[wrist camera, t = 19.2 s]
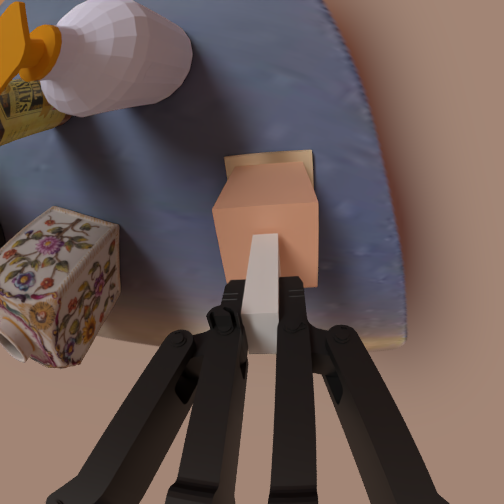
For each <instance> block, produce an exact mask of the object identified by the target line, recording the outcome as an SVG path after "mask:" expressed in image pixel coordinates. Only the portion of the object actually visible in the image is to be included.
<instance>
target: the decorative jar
mask: <svg viewBox="0 0 504 504" xmlns="http://www.w3.org/2000/svg"><path fill="white" fill-rule="evenodd" d="M119 268H120V260H119V225H118V224H114V223H111V222H107V221H104V220H101V219H97V218H94V217H91V216H87V215H84V214H81V213H78V212H75V211H71V210H68V209H64V208H60V207H57V206H52V207H51V208H50V209H48V210H47V211H45V212H44V213H43V214H41V215H40V216H38V217H37V218H36V219H34V220H33V221H32V222H31V223H29V224H28V225H27V226H25V227H24V228H23V229H21V231H19V232H18V233H17V234H16V235H15V236H14V237H13V238H12V239H10V240H9V241H8V242H7V243H6V244H5V245H4V246H3V247H2V248H1V249H0V344H1V345H2V346H3V347H4V349H5V350H6V351H7V352H8V353H9V354H10V355H11V356H12V357H14V358H15V359H16V360H18V361H20V362H23V363H25V362H26V361H27V359H28V358H29V357H30V358H31V359H33V360H34V361H36V362H38V363H39V364H41V365H43V366H45V367H48V368H67V367H69V366H75V365H79V364H81V362H82V360H83V358H84V356H85V355H86V353H87V351H88V349H89V348H90V346H91V344H92V342H93V341H94V339H95V337H96V335H97V333H98V332H99V330H100V328H101V326H102V325H103V323H104V322H105V320H106V318H107V317H108V315H109V313H110V312H111V310H112V308H113V306H114V304H115V303H116V301H117V299H118V297H119V295H120V293H121V284H120V269H119Z"/></svg>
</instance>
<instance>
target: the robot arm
mask: <svg viewBox="0 0 504 504" xmlns="http://www.w3.org/2000/svg"><path fill="white" fill-rule="evenodd" d="M4 245H5V239H4V235H3V231H2V228H1V226H0V249H1V248H2V247H3V246H4ZM206 317H207V320H208V323H209V326H210V330H208V331H207V332H204V333H200V334H196V335H192V334H191V333H190V332H189V331H186V330H177V331H174V332H172V333H170V334H169V335H168V336H167V337H166V339H165V340H164V342H163V343H162V344H161V346H160V347H159V349H158V351H157V352H156V353H155V355H154V356H153V358H152V359H151V361H150V363H149V364H148V365H147V367H146V369H145V370H144V372H143V373H142V374H141V376H140V377H139V379H138V381H137V382H136V384H135V385H134V387H133V388H132V390H131V391H130V393H129V394H128V396H127V398H126V399H125V400H124V402H123V404H122V405H121V407H120V408H119V410H118V411H117V413H116V414H115V416H114V418H113V419H112V421H111V422H110V424H109V425H108V427H107V429H106V430H105V432H104V433H103V435H102V436H101V438H100V440H99V441H98V443H97V444H96V446H95V448H94V449H93V451H92V453H91V454H90V456H89V457H88V459H87V461H86V462H85V464H84V466H83V467H82V469H81V470H80V472H79V474H78V475H77V476H76V477H75V478H73V479H72V480H71V481H69V482H68V483H66V484H65V485H64V486H62V487H61V488H59V489H58V490H56V491H55V492H54V493H52V494H51V495H50V496H49V497H48V498H47V501H46V504H139V503H140V501H141V499H142V498H143V496H144V494H145V493H146V491H147V489H148V487H149V485H150V484H151V482H152V480H153V478H154V476H155V474H156V472H157V471H158V469H159V467H160V465H161V463H162V461H163V459H164V457H165V455H166V454H167V452H168V450H169V448H170V446H171V444H172V442H173V440H174V439H175V436H176V435H177V433H178V431H179V429H180V427H181V425H182V423H183V421H184V419H185V418H186V416H187V414H188V412H189V410H190V408H191V406H192V404H193V406H192V411H191V415H190V420H189V425H188V429H187V434H186V438H185V443H184V448H183V453H182V458H181V463H180V467H179V473H178V477H177V480H176V482H175V483H174V484H173V485H171V486H170V488H169V490H168V493H167V497H166V501H165V504H235V498H234V492H235V483H236V474H237V465H238V456H239V447H240V438H241V429H242V420H243V409H244V401H245V391H246V381H247V372H248V359H247V353H248V351H249V354H274V353H276V386H275V388H276V389H275V413H274V434H273V453H272V469H271V485H270V494H269V499H268V504H318V495H317V473H316V472H317V470H316V428H315V406H314V388H313V373H317V374H322V376H323V379H324V382H325V384H326V386H327V389H328V392H329V394H330V397H331V399H332V402H333V404H334V407H335V409H336V412H337V415H338V417H339V420H340V422H341V425H342V428H343V430H344V432H345V435H346V438H347V441H348V443H349V446H350V449H351V451H352V454H353V456H354V459H355V462H356V465H357V467H358V470H359V473H360V475H361V478H362V481H363V483H364V486H365V489H366V492H367V494H368V497H369V500H370V503H371V504H449V503H448V502H447V501H446V500H445V499H443V498H442V497H441V496H440V495H439V494H438V493H437V491H436V489H435V486H434V484H433V482H432V480H431V477H430V475H429V472H428V470H427V468H426V466H425V463H424V461H423V459H422V457H421V455H420V453H419V451H418V448H417V446H416V444H415V442H414V440H413V438H412V436H411V434H410V432H409V429H408V428H407V426H406V423H405V421H404V419H403V417H402V416H401V413H400V411H399V410H398V407H397V406H396V404H395V402H394V400H393V398H392V396H391V394H390V392H389V390H388V388H387V387H386V384H385V383H384V381H383V379H382V377H381V375H380V373H379V371H378V370H377V368H376V366H375V364H374V362H373V361H372V359H371V357H370V355H369V353H368V352H367V350H366V348H365V346H364V344H363V343H362V341H361V339H360V337H359V336H358V334H357V332H356V331H355V330H354V329H353V328H351V327H349V326H346V325H336V326H334V327H332V328H330V329H329V330H328V331H327V330H322V329H318V328H316V327H314V326H312V325H311V324H310V323H309V322H308V320H307V315H306V305H305V296H304V287H303V281H302V280H301V279H300V278H299V276H290V277H281V269H280V255H279V241H278V233H273V234H257V235H253V236H252V243H251V249H250V256H249V263H248V269H247V276H246V279H241V280H230V281H229V282H228V284H227V285H226V286H225V289H224V295H223V298H222V302H221V305H220V306H216V307H214V308H212V309H211V310H210V311H209V312H208V314H207V315H206Z"/></svg>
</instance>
